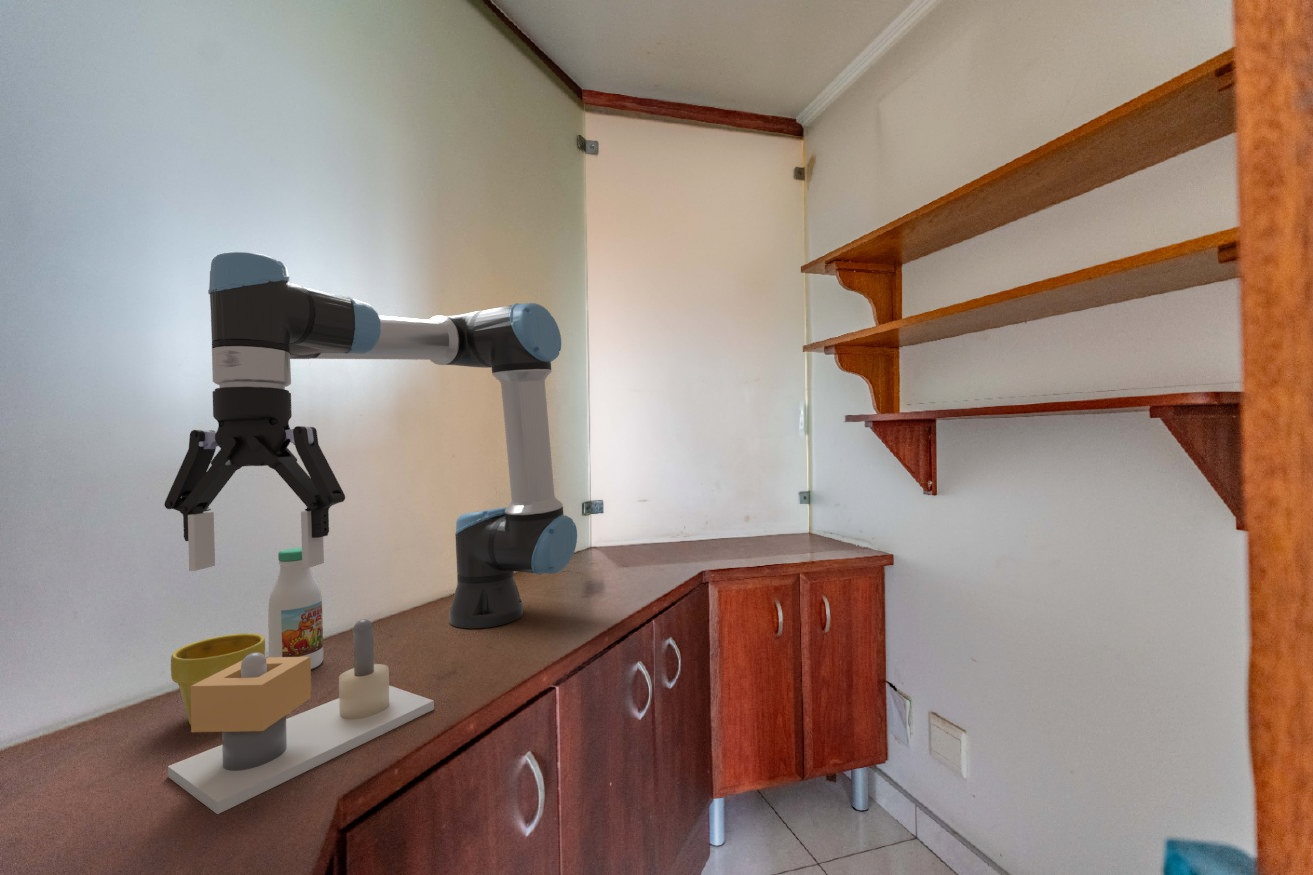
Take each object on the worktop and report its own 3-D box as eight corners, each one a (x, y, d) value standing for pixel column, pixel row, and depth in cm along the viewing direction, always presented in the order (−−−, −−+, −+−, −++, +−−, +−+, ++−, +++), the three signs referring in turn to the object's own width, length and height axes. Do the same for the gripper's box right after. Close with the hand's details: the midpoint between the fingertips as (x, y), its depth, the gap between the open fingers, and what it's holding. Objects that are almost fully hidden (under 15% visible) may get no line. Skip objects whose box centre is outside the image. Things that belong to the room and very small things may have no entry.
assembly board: (379, 689, 83) (377, 602, 84) (433, 709, 77) (431, 613, 77) (168, 776, 62) (166, 659, 62) (217, 814, 55) (215, 682, 55)
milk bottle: (261, 679, 89) (258, 555, 89) (279, 662, 96) (277, 547, 96) (315, 672, 91) (313, 551, 91) (329, 656, 98) (326, 543, 99)
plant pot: (280, 707, 79) (279, 638, 79) (191, 742, 70) (189, 664, 70) (245, 692, 84) (244, 628, 84) (158, 723, 75) (157, 651, 75)
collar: (247, 698, 68) (247, 657, 68) (311, 697, 68) (310, 656, 68) (191, 732, 60) (190, 685, 60) (262, 730, 60) (261, 684, 60)
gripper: (120, 388, 62) (124, 577, 62) (335, 380, 61) (340, 571, 61) (180, 394, 70) (185, 562, 69) (373, 387, 68) (377, 557, 68)
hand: (257, 567), depth 65 cm, fingers open, 13 cm apart
